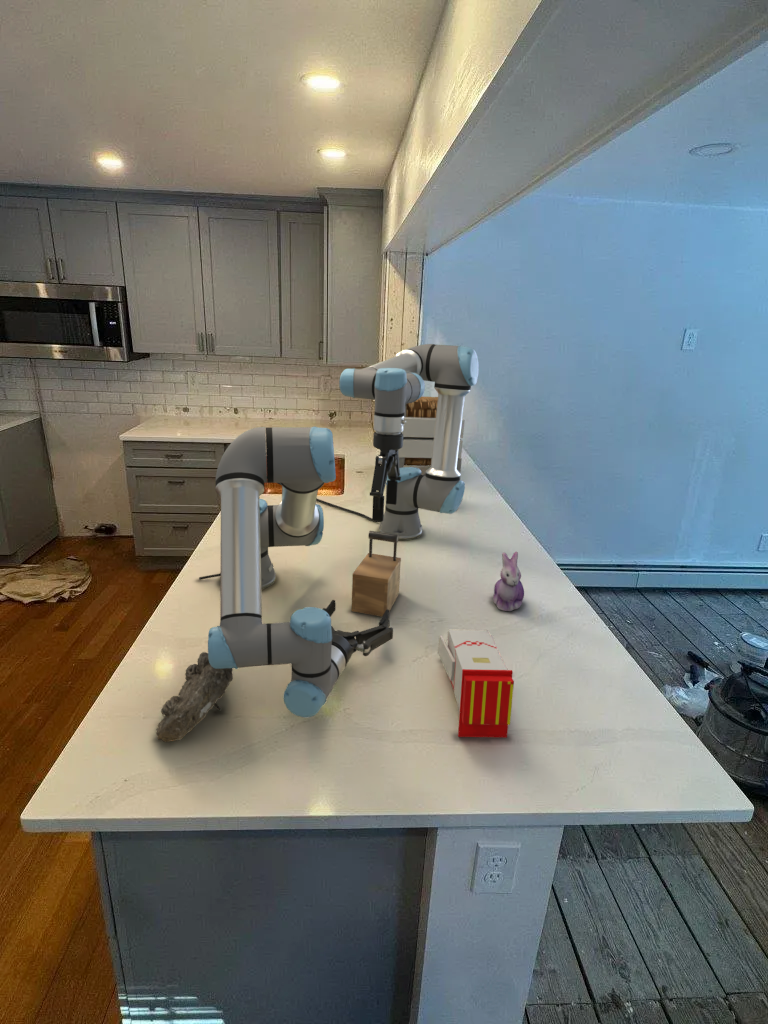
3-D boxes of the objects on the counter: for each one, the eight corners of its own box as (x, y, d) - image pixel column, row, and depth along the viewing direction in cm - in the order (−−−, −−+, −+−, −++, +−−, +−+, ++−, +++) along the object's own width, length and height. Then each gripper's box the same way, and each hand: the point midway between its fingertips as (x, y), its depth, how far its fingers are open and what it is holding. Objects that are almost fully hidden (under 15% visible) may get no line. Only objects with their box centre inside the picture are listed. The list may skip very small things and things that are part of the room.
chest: (366, 588, 160) (367, 557, 157) (398, 593, 158) (400, 562, 155) (351, 611, 148) (352, 577, 145) (386, 617, 146) (387, 583, 142)
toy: (488, 613, 130) (523, 677, 101) (484, 667, 133) (517, 744, 104) (435, 612, 130) (455, 676, 101) (432, 666, 133) (451, 743, 103)
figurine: (506, 615, 149) (513, 563, 144) (482, 598, 157) (488, 548, 152) (534, 608, 153) (541, 558, 148) (509, 592, 161) (516, 543, 156)
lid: (368, 556, 157) (369, 527, 154) (401, 561, 155) (402, 532, 152) (352, 577, 145) (353, 546, 142) (387, 583, 142) (389, 552, 139)
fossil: (183, 653, 120) (233, 621, 115) (215, 683, 122) (265, 653, 117) (132, 735, 100) (190, 701, 95) (171, 768, 103) (229, 737, 98)
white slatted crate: (382, 463, 289) (386, 382, 275) (445, 464, 293) (451, 384, 279) (390, 482, 257) (394, 392, 243) (460, 483, 261) (468, 394, 247)
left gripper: (274, 662, 122) (312, 614, 141) (386, 685, 116) (409, 632, 135) (273, 631, 119) (312, 587, 139) (388, 654, 113) (411, 604, 133)
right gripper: (390, 443, 130) (386, 529, 137) (413, 424, 152) (409, 499, 160) (359, 440, 131) (356, 525, 139) (386, 422, 154) (383, 496, 161)
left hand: (360, 609), depth 137 cm, fingers open, 13 cm apart
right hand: (384, 511), depth 149 cm, fingers open, 13 cm apart
